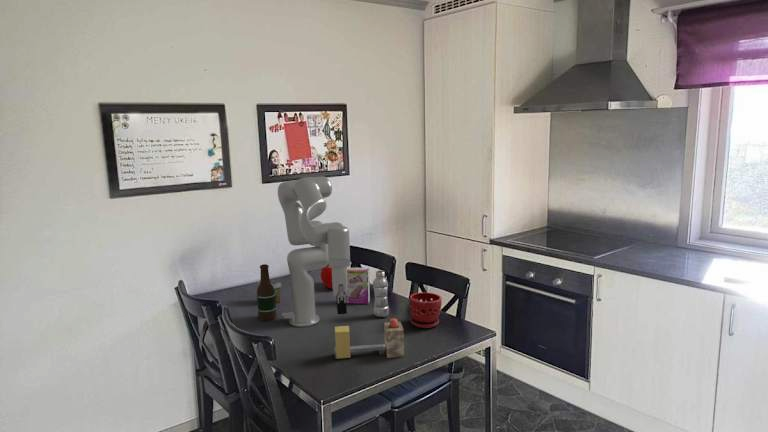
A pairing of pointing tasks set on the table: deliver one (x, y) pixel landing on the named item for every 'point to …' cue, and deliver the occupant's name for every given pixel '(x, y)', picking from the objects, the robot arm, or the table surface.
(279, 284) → the food container
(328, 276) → the tomato
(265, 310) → the beer bottle
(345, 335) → the yellow block
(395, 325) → the button
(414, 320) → the plant pot
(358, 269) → the candy bar box
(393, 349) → the beige mottled box
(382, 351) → the rail
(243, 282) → the table surface
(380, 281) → the plastic bottle
